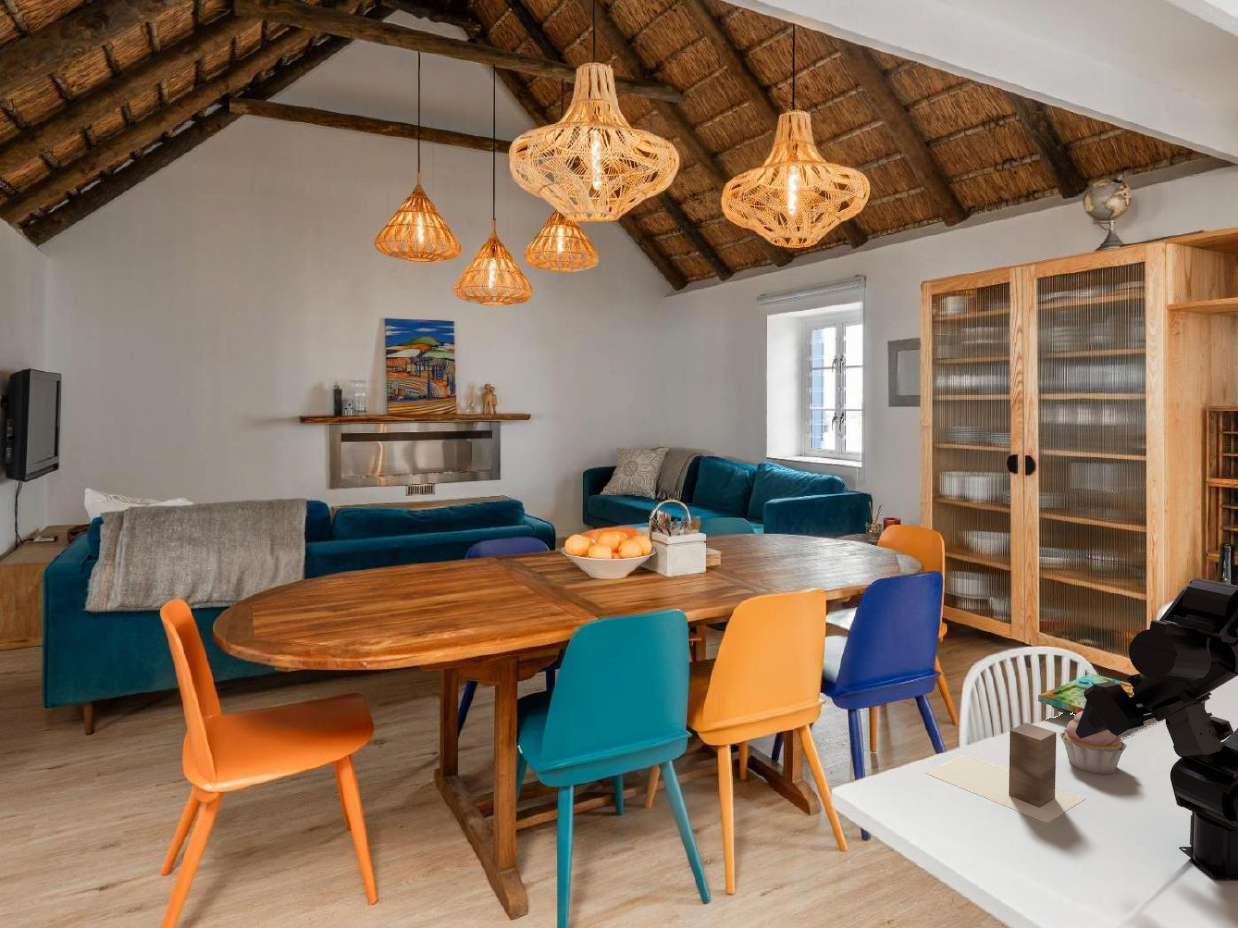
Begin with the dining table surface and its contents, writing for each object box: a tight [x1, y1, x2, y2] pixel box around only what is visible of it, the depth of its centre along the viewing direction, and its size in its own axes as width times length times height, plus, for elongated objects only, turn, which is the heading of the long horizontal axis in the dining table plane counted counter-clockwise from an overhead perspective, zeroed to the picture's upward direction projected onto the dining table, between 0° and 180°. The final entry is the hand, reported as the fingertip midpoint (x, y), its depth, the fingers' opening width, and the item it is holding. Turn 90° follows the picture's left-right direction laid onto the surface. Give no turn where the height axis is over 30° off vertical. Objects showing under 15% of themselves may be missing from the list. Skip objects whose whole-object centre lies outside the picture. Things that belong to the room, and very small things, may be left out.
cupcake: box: [1059, 711, 1128, 775], centre depth 126 cm, size 9×9×10 cm
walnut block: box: [1008, 722, 1057, 808], centre depth 116 cm, size 4×4×10 cm
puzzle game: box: [1037, 673, 1134, 716], centre depth 150 cm, size 12×5×20 cm
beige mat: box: [925, 753, 1086, 824], centre depth 120 cm, size 19×11×1 cm, turn 35°
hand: (1098, 730), depth 109 cm, fingers open, 9 cm apart
